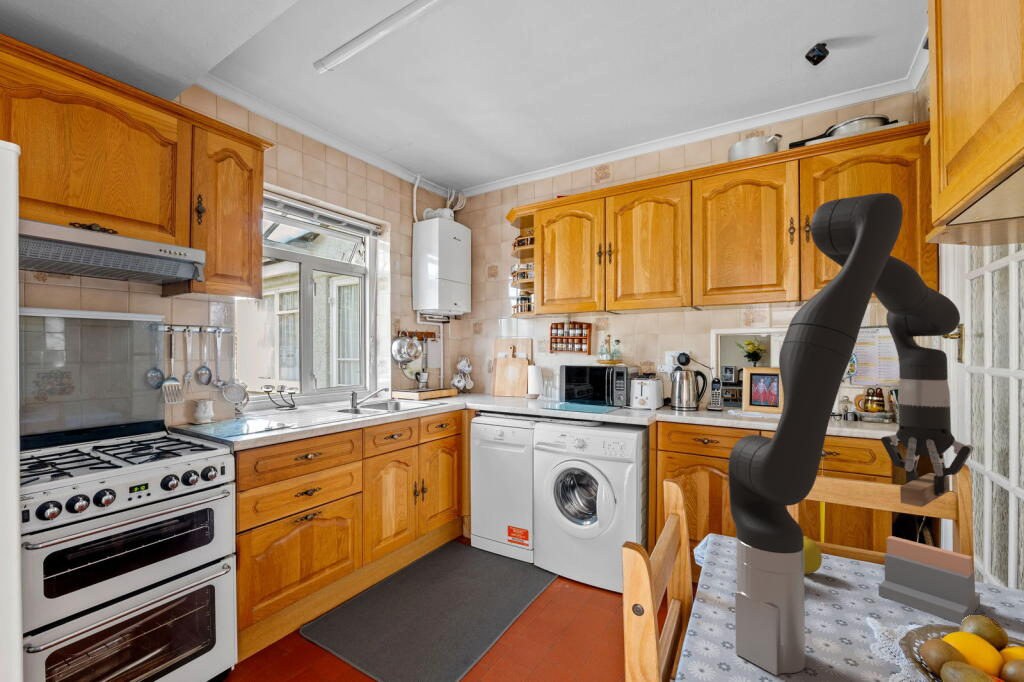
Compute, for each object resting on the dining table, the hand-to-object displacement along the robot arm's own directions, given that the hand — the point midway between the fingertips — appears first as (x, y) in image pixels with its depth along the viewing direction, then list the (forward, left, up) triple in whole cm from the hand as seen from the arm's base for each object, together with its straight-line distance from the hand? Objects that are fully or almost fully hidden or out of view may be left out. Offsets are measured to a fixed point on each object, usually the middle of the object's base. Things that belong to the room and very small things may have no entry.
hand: (925, 492), depth 89 cm
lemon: (-8, +18, -21) cm, 28 cm away
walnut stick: (0, 0, -1) cm, 1 cm away
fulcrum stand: (0, 0, -20) cm, 20 cm away
